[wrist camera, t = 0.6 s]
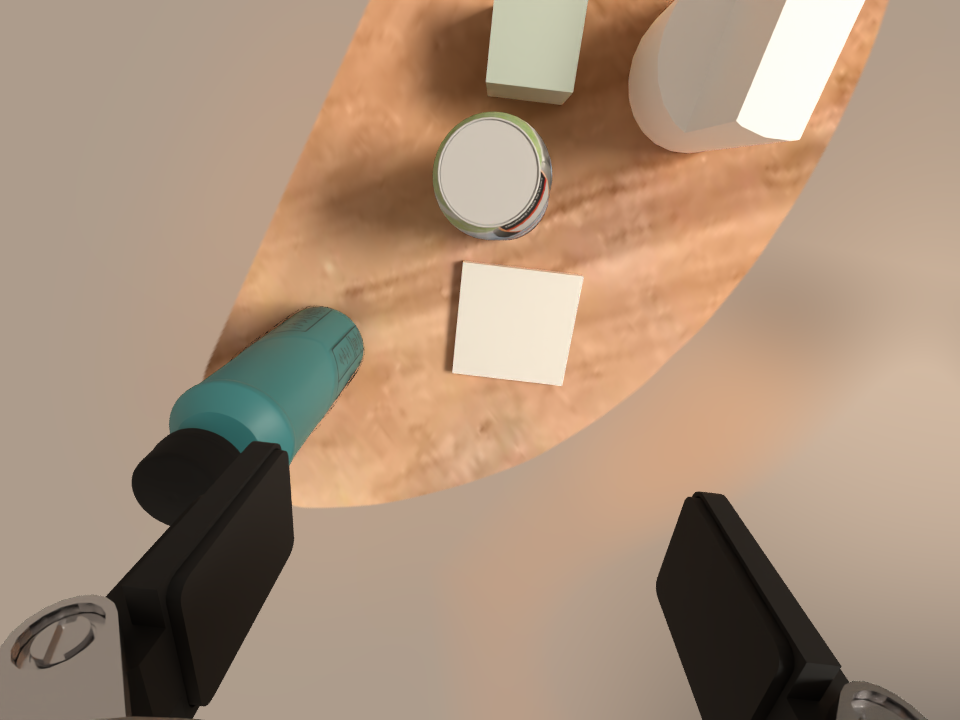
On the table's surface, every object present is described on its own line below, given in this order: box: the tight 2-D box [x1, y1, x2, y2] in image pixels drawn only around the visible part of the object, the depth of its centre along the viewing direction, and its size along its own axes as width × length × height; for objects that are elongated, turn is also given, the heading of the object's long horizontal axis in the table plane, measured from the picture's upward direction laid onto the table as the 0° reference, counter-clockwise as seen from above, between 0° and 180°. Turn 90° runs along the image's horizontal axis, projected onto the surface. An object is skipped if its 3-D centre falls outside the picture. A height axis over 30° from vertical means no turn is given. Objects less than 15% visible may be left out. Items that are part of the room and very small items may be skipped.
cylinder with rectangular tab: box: [628, 0, 865, 153], centre depth 24 cm, size 9×9×12 cm
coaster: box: [452, 260, 584, 386], centre depth 36 cm, size 9×9×1 cm
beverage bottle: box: [132, 306, 364, 526], centre depth 28 cm, size 6×7×20 cm
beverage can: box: [433, 112, 552, 240], centre depth 27 cm, size 6×7×12 cm
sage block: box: [486, 0, 588, 105], centre depth 28 cm, size 5×5×5 cm
